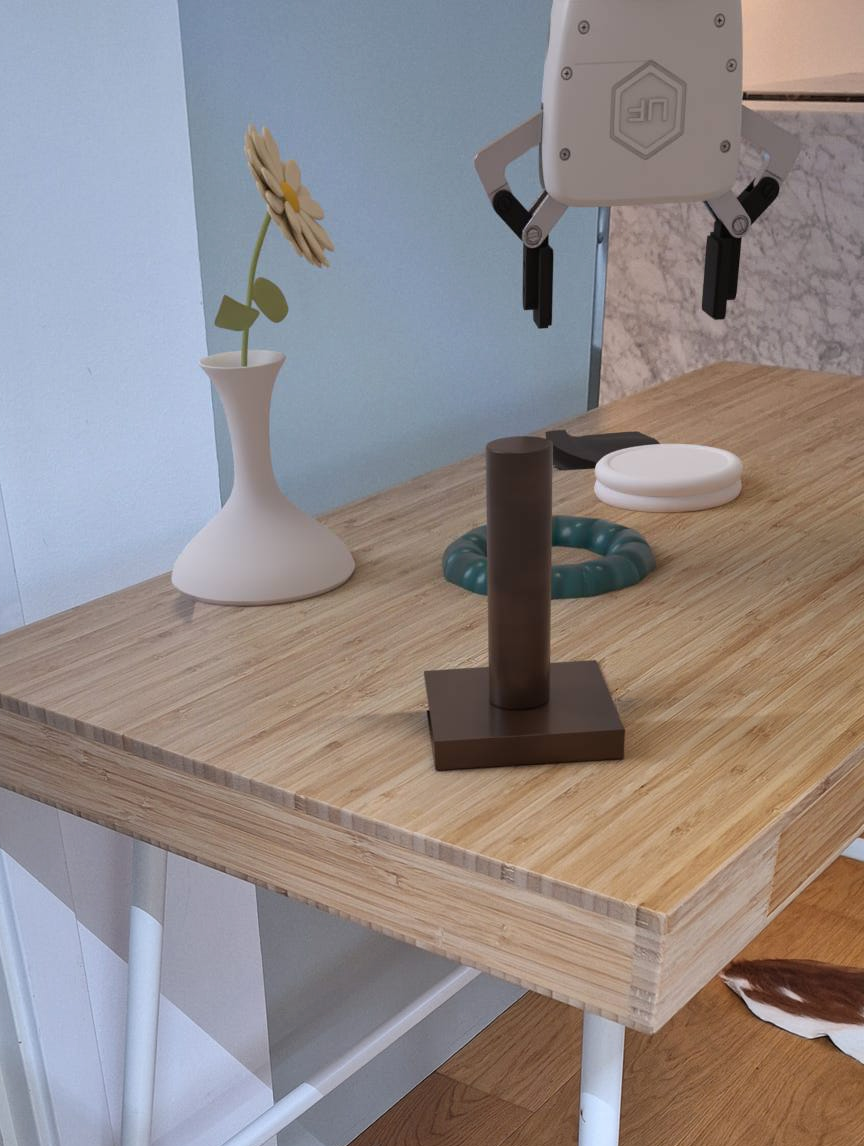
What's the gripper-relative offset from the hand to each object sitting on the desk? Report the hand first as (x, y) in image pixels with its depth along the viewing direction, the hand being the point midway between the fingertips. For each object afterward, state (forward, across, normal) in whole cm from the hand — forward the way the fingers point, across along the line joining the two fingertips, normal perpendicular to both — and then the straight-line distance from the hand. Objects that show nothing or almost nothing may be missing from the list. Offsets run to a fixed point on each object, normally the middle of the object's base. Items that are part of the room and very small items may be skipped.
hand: (627, 319), depth 82 cm
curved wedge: (+15, +4, +27) cm, 31 cm away
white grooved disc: (+15, +6, +14) cm, 21 cm away
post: (+15, -8, -21) cm, 27 cm away
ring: (+13, -4, 0) cm, 14 cm away
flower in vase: (+15, -21, +2) cm, 26 cm away
